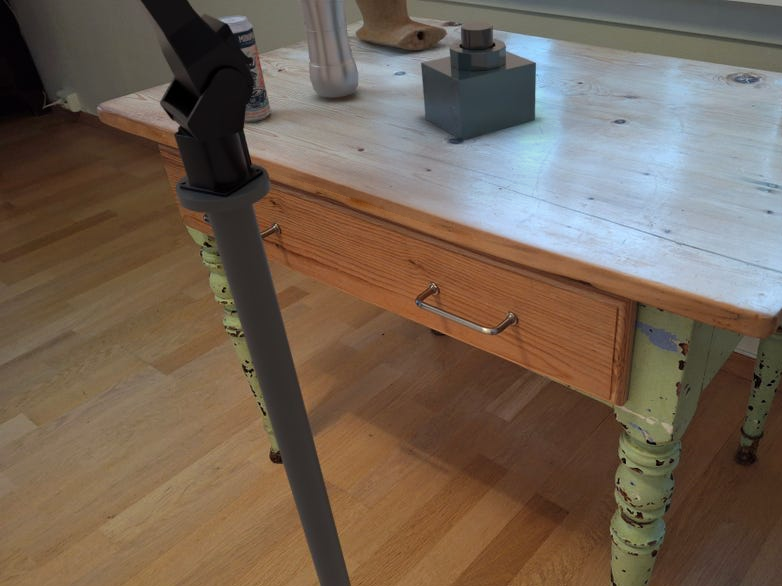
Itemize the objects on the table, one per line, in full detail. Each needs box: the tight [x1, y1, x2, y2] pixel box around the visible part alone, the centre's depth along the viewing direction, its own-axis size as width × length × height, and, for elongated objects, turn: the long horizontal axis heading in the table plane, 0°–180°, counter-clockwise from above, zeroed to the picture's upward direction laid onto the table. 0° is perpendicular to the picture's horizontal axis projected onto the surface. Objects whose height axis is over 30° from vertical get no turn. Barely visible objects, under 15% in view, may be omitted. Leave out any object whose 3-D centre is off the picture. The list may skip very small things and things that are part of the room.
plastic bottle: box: [297, 0, 359, 98], centre depth 93 cm, size 6×7×20 cm
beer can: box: [217, 14, 272, 123], centre depth 89 cm, size 5×5×12 cm
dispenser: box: [420, 38, 537, 141], centre depth 87 cm, size 11×9×9 cm
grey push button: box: [460, 21, 494, 51], centre depth 84 cm, size 4×4×3 cm
